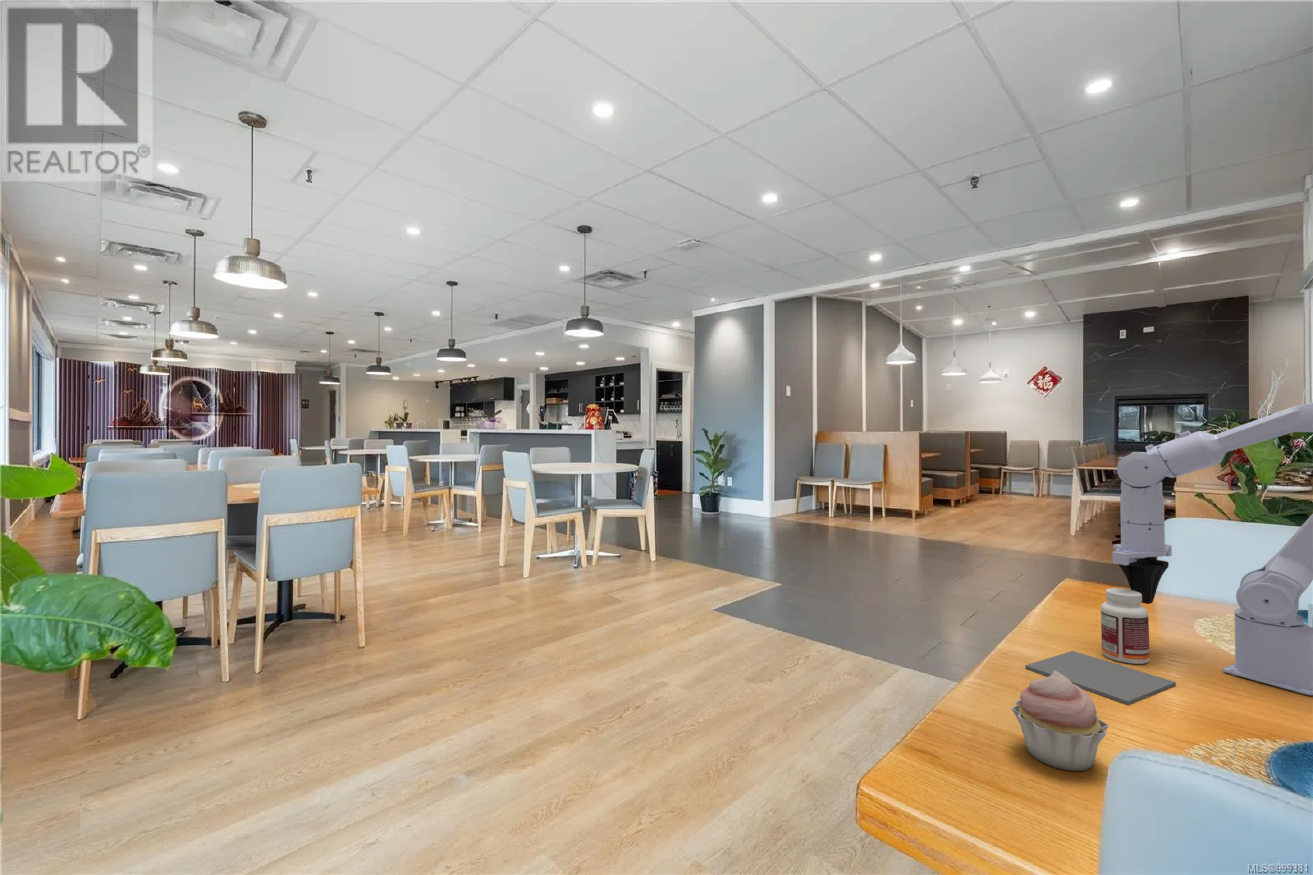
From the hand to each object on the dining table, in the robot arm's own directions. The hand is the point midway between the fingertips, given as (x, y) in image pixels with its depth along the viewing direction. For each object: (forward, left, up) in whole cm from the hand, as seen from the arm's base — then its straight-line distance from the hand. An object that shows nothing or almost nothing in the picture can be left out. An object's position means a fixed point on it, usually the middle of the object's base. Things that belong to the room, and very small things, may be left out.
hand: (1143, 602), depth 98 cm
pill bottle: (0, +6, -9) cm, 10 cm away
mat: (-2, +18, -8) cm, 20 cm away
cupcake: (-12, +46, -9) cm, 48 cm away
